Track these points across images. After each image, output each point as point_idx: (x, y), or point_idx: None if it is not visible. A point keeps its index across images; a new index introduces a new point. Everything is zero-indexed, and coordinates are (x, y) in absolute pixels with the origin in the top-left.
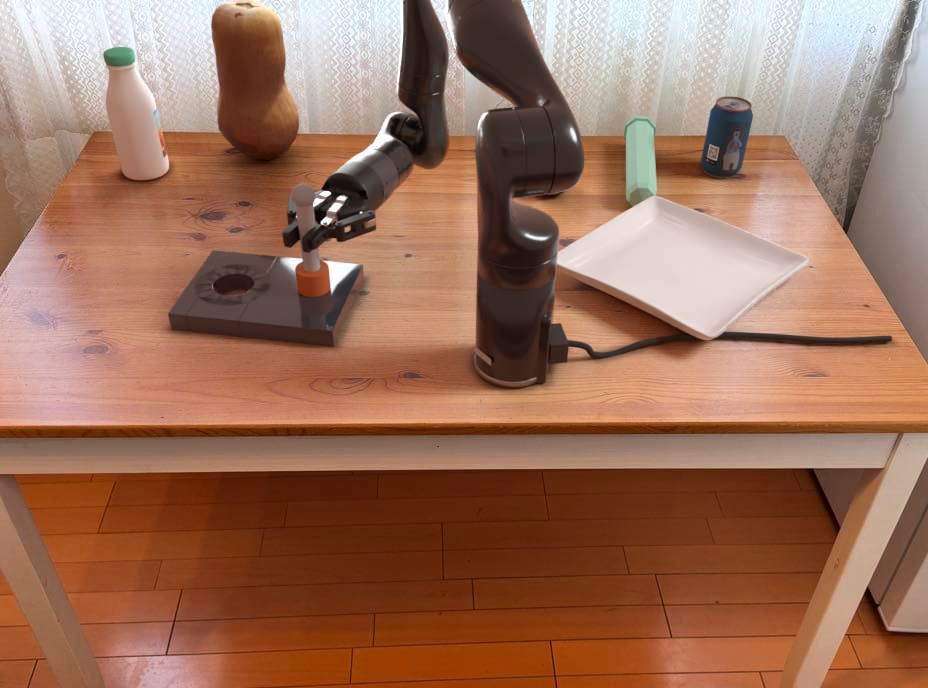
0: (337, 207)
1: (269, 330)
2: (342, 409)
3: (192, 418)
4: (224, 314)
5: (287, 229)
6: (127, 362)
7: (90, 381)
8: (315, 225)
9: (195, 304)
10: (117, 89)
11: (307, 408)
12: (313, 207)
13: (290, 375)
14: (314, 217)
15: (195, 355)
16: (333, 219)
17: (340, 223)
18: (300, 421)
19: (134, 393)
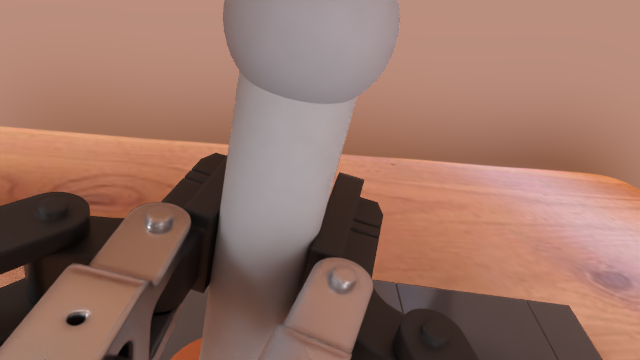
0: (42, 333)
1: None
2: (116, 152)
3: (352, 160)
4: (443, 303)
5: (357, 191)
6: (533, 252)
7: (543, 220)
8: (220, 215)
9: (542, 339)
10: None
11: (180, 159)
12: (235, 103)
13: None
14: (226, 163)
15: (436, 265)
16: (97, 258)
17: (47, 201)
18: (188, 143)
19: (463, 198)
